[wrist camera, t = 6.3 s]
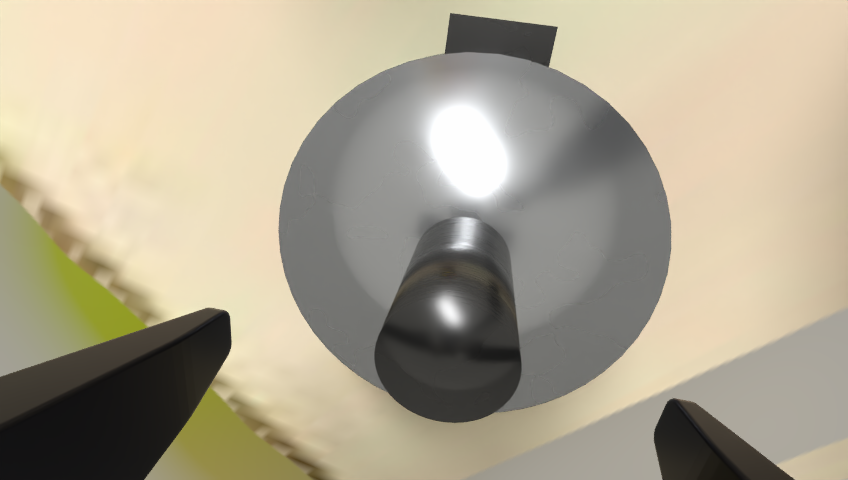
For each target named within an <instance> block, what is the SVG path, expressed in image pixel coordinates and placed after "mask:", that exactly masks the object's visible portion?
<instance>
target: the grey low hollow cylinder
mask: <svg viewBox="0 0 848 480" xmlns="http://www.w3.org/2000/svg"><path fill="white" fill-rule="evenodd" d="M557 28H558V27H554V26H546V25H538V24H530V23H523V22H515V21H507V20H499V19H491V18H483V17H475V16H468V15H460V14H452V13H450V20H449V27H448V35H447V42H446V49H445V54H452V53H464V52H473V53H491V54H501V55H506V56H511V57H516V58H521V59H526V60H530V61H532V62H535V63H538V64H541V65H543V66H546V67H549V63H550V59H551V54H552V50H553V45H554V41H555V36H556V32H557Z"/></svg>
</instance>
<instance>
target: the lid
mask: <svg viewBox="0 0 848 480" xmlns="http://www.w3.org/2000/svg"><path fill="white" fill-rule="evenodd" d="M279 242H280V253H281V258H282V263H283V268H284V272H285V276H286V279H287V282H288V284H289V287H290V290H291V293H292V295H293V297H294V300H295V302H296V304H297V306H298V308H299V310H300V312H301V314H302V315H303V317H304V318H305V320H306V321H307V323H308V324H309V326H310V328H311V329H312V331H313V332H314V333H315V334H316V336H317V337H318V338H319V339H320V340H321V342H322V343H323V344H324V345H325V347H326V348H327V349H328V350H329V351H330V352H331V353H332V354H333V355H335V356H336V357H337V358H338V359H339V360H340V361H341V362H342V363H343V364H344V365H346V366H347V367H348V368H349V369H351V370H352V371H353V372H355V373H356V374H357V375H358V376H360V377H362V378H363V379H365V380H366V381H368V382H370V383H371V384H373V385H374V386H376V387H378V388H380V389H382V390H384V391H386V392H388V393H389V394H390V395H391V396H392V397H393V398H394V399H395V400H396V401H397V402H398V403H399V404H401V405H402V406H403V407H405V408H406V409H408V410H410V411H411V412H413V413H415V414H418V415H420V416H422V417H425V418H428V419H432V420H436V421H441V422H452V423H457V422H468V421H474V420H477V419H481V418H483V417H486V416H488V415H490V414H492V413H494V412H505V411H512V410H518V409H524V408H528V407H531V406H535V405H539V404H543V403H546V402H548V401H551V400H553V399H556V398H559V397H561V396H564V395H566V394H568V393H570V392H572V391H574V390H576V389H577V388H579V387H581V386H583V385H585V384H587V383H588V382H589V381H591V380H592V379H594V378H595V377H597V376H598V375H600V374H601V373H603V372H604V371H605V370H606V369H607V368H609V367H610V366H611V365H612V364H613V363H614V362H615V361H616V360H618V359H619V358H620V357H621V356H622V355H623V354H624V353H625V351H626V350H627V349H628V348H629V347H630V346H631V345H632V343H633V342H634V341H635V340H636V339H637V337H638V336H639V334H640V333H641V331H642V330H643V328H644V327H645V325H646V324H647V322H648V321H649V319H650V317H651V315H652V313H653V311H654V309H655V307H656V305H657V303H658V301H659V298H660V296H661V293H662V289H663V286H664V283H665V280H666V276H667V273H668V266H669V260H670V253H671V220H670V214H669V208H668V202H667V196H666V193H665V190H664V187H663V184H662V181H661V178H660V175H659V172H658V170H657V168H656V166H655V164H654V162H653V160H652V158H651V156H650V154H649V152H648V150H647V148H646V146H645V145H644V144H643V142H642V141H641V140H640V138H639V137H638V135H637V134H636V133H635V131H634V130H633V129H632V127H631V126H630V124H629V123H628V122H627V121H626V120H625V119H624V118H623V117H622V116H621V115H620V114H619V113H618V112H617V111H616V110H615V109H614V108H613V107H612V106H611V105H610V104H609V103H608V102H607V101H605V100H604V99H603V98H601V97H600V96H599V95H597V94H596V93H594V92H593V91H592V90H590V89H589V88H588V87H586V86H585V85H584V84H582V83H580V82H578V81H576V80H574V79H572V78H570V77H569V76H567V75H565V74H563V73H561V72H559V71H557V70H555V69H552V68H549V67H546V66H543V65H541V64H538V63H535V62H532V61H530V60H526V59H521V58H516V57H511V56H506V55H501V54H491V53H473V52H464V53H452V54H441V55H434V56H430V57H426V58H421V59H417V60H413V61H409V62H406V63H403V64H401V65H398V66H396V67H393V68H391V69H388V70H385V71H383V72H381V73H379V74H377V75H375V76H374V77H372V78H370V79H368V80H367V81H365V82H363V83H361V84H360V85H358V86H356V87H355V88H354V89H353V90H351V91H350V92H349V93H347V94H346V95H345V96H344V97H342V98H341V99H340V100H338V101H337V102H336V103H335V104H334V105H333V106H332V107H331V108H330V109H329V110H328V111H327V112H326V113H325V114H324V115H323V116H322V117H321V118H320V119H319V121H318V122H317V123H316V125H315V126H314V127H313V129H312V130H311V132H310V133H309V134H308V136H307V137H306V138H305V140H304V141H303V143H302V145H301V147H300V149H299V151H298V153H297V155H296V157H295V159H294V160H293V162H292V165H291V168H290V171H289V174H288V176H287V179H286V182H285V185H284V190H283V195H282V200H281V205H280V215H279Z"/></svg>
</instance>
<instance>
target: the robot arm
mask: <svg viewBox="0 0 848 480" xmlns="http://www.w3.org/2000/svg"><path fill="white" fill-rule="evenodd" d="M230 349H231V325H230V315H229V313H228V312H227V311H225V310H220V309H215V308H205V309H202V310H199V311H196V312H193V313H190V314H187V315H184V316H181V317H178V318H175V319H172V320H169V321H166V322H163V323H160V324H157V325H154V326H151V327H148V328H145V329H143V330H139V331H136V332H134V333H130V334H128V335H124V336H121V337H118V338H116V339H112V340H109V341H106V342H103V343H100V344H98V345H94V346H91V347H88V348H86V349H82V350H79V351H77V352H73V353H70V354H67V355H64V356H61V357H58V358H56V359H53V360H49V361H46V362H44V363H41V364H38V365H34V366H31V367H28V368H25V369H22V370H19V371H17V372H13V373H10V374H8V375H5V376H2V377H0V480H144V479H145V478H146V476H147V475H148V474H149V472H150V471H151V470H152V468H153V467H154V466H155V464H156V463H157V462H158V460H159V459H160V458H161V456H162V455H163V454H164V452H165V451H166V450H167V448H168V447H169V446H170V444H171V443H172V442H173V440H174V439H175V438H176V436H177V435H178V434H179V432H180V431H181V430H182V428H183V427H184V425H185V424H186V423H187V421H188V420H189V418H190V417H191V415H192V414H193V412H194V411H195V409H196V408H197V406H198V404H199V403H200V401H201V399H202V397H203V396H204V394H205V392H206V391H207V389H208V388H209V386H210V385H211V383H212V381H213V380H214V378H215V376H216V375H217V373H218V371H219V370H220V368H221V366H222V365H223V363H224V361H225V360H226V358H227V356H228V354H229V352H230ZM654 443H655V448H656V452H657V457H658V461H659V466H660V470H661V475H662V479H663V480H794V479H793V478H792V477H790V476H789V475H788V474H787V473H785V472H784V471H783V470H781V469H780V468H779V467H777V466H776V465H775V464H774V463H772V462H771V461H770V460H768V459H767V458H766V457H765V456H763V455H762V454H761V453H759V452H758V451H757V450H756V449H754V448H753V447H752V446H750V445H749V444H748V443H747V442H745V441H744V440H743V439H741V438H740V437H739V436H737V435H736V434H735V433H734V432H732V431H731V430H730V429H728V428H727V427H726V426H724V425H723V424H722V423H721V422H719V421H718V420H717V419H716V418H714V417H713V416H712V415H710V414H709V413H708V412H706V411H705V410H704V409H703V408H701V407H700V406H699V405H697V404H696V403H694V402H691V401H686V400H680V399H676V398H673V399H670V400H669V401H668V402H667V404H666V406H665V408H664V410H663V412H662V415H661V417H660V419H659V421H658V424H657V426H656V428H655V432H654Z"/></svg>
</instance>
